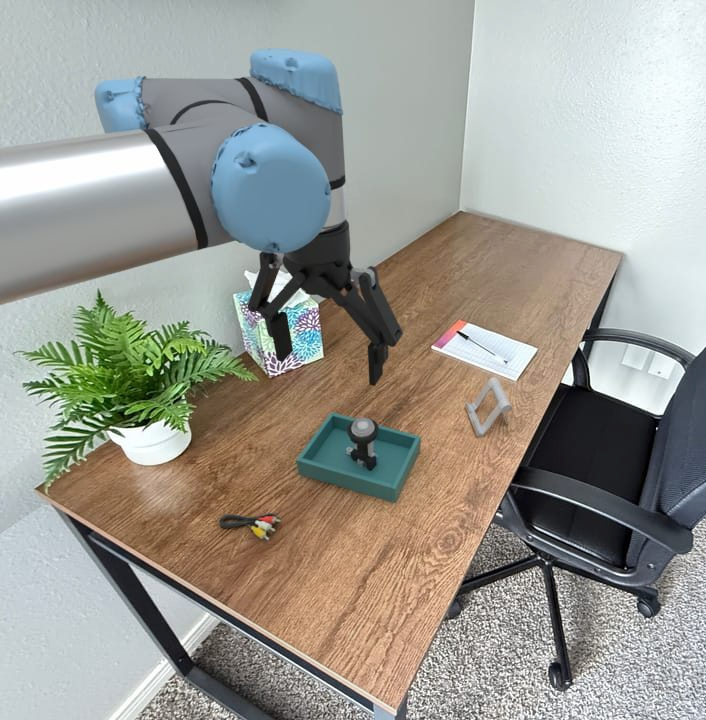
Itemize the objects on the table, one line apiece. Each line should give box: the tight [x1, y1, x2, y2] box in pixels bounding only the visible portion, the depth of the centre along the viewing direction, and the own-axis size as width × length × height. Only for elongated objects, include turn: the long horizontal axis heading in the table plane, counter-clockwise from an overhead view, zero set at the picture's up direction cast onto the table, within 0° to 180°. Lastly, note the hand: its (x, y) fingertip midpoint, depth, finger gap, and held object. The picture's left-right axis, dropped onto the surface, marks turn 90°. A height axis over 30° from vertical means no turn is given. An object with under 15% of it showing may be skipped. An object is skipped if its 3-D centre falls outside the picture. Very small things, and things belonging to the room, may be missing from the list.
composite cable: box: [218, 512, 282, 541], centre depth 74 cm, size 10×5×2 cm, turn 75°
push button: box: [346, 417, 379, 471], centre depth 84 cm, size 7×5×10 cm
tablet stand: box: [464, 376, 512, 438], centre depth 97 cm, size 9×8×8 cm
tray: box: [295, 411, 422, 504], centre depth 86 cm, size 19×13×4 cm
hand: (330, 367), depth 64 cm, fingers open, 13 cm apart
